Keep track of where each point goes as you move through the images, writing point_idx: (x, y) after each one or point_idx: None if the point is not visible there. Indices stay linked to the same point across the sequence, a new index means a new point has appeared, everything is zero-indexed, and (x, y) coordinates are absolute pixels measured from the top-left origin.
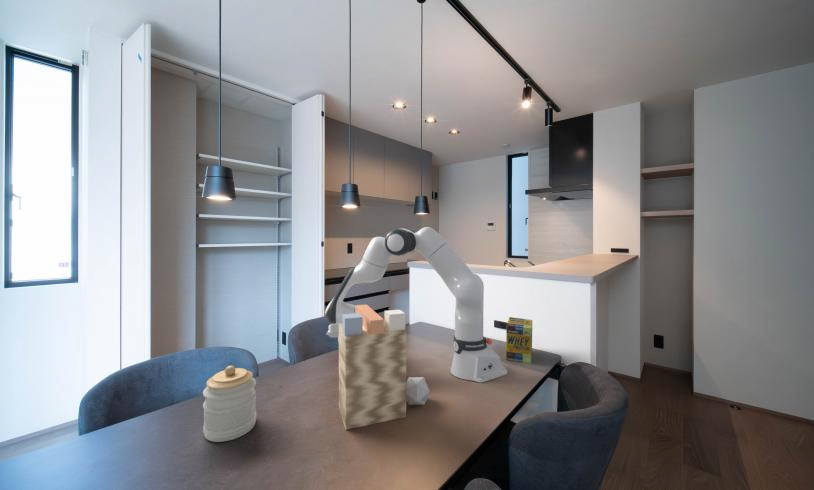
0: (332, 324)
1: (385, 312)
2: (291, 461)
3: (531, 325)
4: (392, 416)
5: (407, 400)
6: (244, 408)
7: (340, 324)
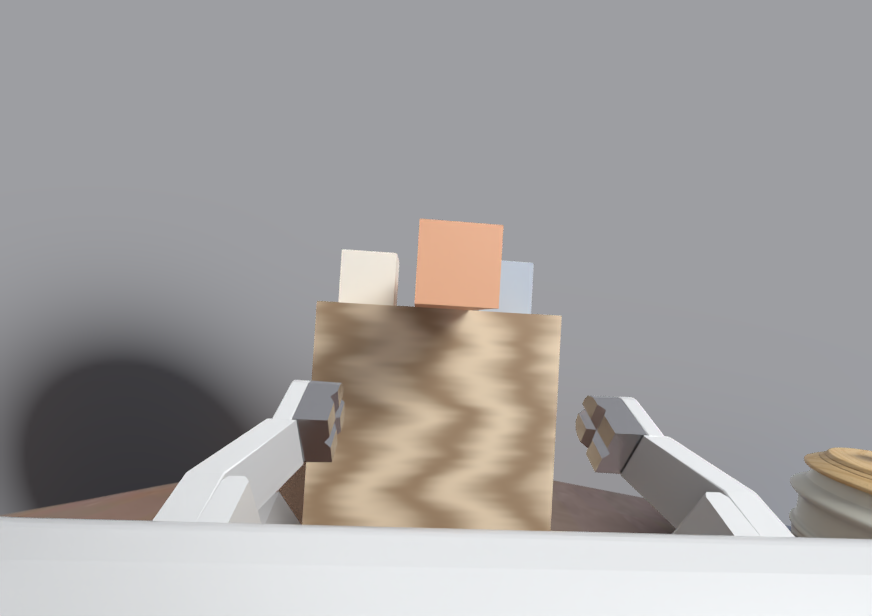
0: None
1: (397, 258)
2: (586, 509)
3: None
4: None
5: None
6: (791, 527)
7: (710, 475)
